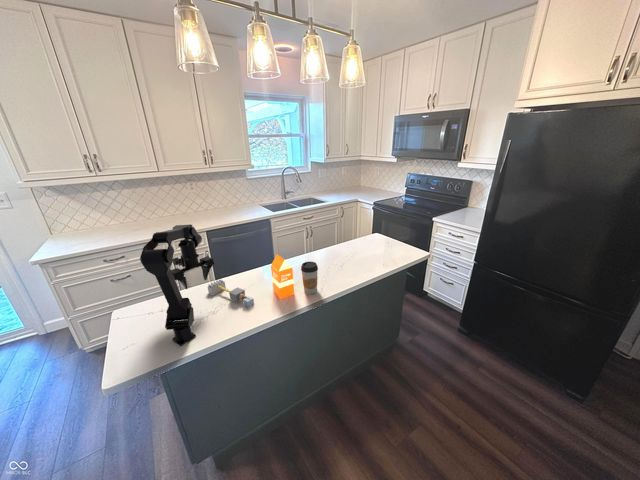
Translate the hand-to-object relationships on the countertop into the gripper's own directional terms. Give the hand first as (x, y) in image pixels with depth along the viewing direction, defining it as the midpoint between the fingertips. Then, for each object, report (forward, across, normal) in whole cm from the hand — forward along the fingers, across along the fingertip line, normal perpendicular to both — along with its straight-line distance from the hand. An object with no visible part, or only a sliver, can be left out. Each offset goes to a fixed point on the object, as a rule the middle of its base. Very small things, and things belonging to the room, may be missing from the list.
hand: (196, 284), depth 117 cm
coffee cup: (+12, -38, +36) cm, 54 cm away
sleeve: (+11, -13, +11) cm, 20 cm away
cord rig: (+12, -13, +6) cm, 19 cm away
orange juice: (+12, -30, +25) cm, 41 cm away
